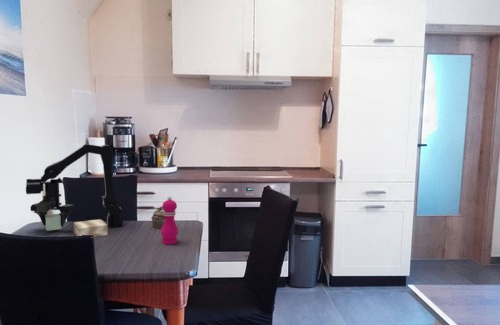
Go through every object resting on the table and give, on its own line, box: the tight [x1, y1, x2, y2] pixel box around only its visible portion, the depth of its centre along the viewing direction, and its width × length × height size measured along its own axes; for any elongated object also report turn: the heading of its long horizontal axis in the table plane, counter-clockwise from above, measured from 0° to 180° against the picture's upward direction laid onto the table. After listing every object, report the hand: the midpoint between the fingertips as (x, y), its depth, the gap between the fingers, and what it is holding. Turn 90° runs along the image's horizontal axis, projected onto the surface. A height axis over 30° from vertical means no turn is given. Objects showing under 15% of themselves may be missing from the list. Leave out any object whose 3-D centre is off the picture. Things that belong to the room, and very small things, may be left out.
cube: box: [45, 213, 62, 232], centre depth 174 cm, size 6×6×6 cm
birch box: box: [73, 218, 109, 238], centre depth 171 cm, size 12×12×5 cm
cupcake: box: [151, 206, 165, 230], centre depth 185 cm, size 10×10×10 cm
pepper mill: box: [160, 196, 179, 245], centre depth 161 cm, size 7×7×20 cm
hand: (53, 226), depth 174 cm, fingers closed on cube, 8 cm apart
